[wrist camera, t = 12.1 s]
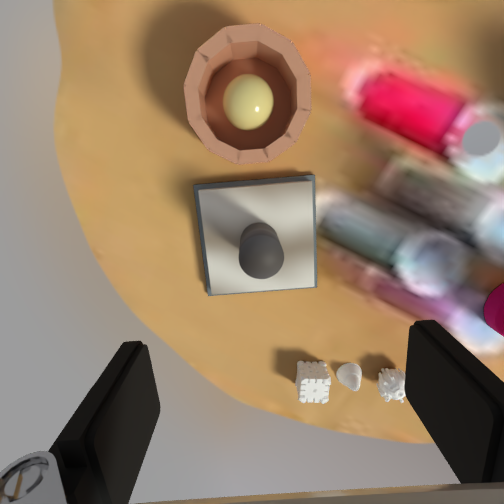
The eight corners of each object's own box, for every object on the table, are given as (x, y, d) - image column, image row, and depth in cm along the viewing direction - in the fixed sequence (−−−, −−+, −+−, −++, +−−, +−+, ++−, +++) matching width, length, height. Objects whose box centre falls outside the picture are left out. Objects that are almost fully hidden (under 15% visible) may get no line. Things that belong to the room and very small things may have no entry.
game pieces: (294, 382, 35) (298, 403, 32) (297, 357, 34) (301, 377, 31) (399, 386, 35) (413, 408, 32) (404, 361, 34) (419, 381, 31)
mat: (194, 184, 28) (193, 185, 28) (313, 174, 28) (314, 174, 27) (208, 294, 31) (208, 295, 31) (316, 285, 31) (317, 287, 31)
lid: (199, 189, 28) (187, 197, 22) (309, 180, 28) (326, 186, 22) (212, 290, 31) (204, 320, 25) (312, 282, 31) (327, 311, 25)
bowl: (188, 52, 25) (176, 30, 21) (298, 42, 25) (309, 18, 21) (202, 166, 28) (194, 168, 23) (302, 158, 27) (312, 158, 23)
